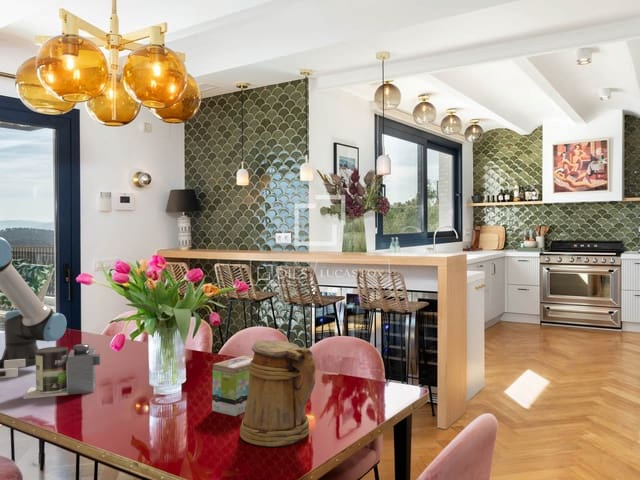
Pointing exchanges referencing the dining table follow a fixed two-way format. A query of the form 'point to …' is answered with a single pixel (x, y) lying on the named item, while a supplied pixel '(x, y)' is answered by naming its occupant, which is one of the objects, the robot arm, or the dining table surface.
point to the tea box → (231, 385)
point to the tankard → (278, 394)
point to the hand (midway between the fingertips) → (21, 367)
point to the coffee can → (51, 370)
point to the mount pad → (33, 394)
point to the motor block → (81, 369)
